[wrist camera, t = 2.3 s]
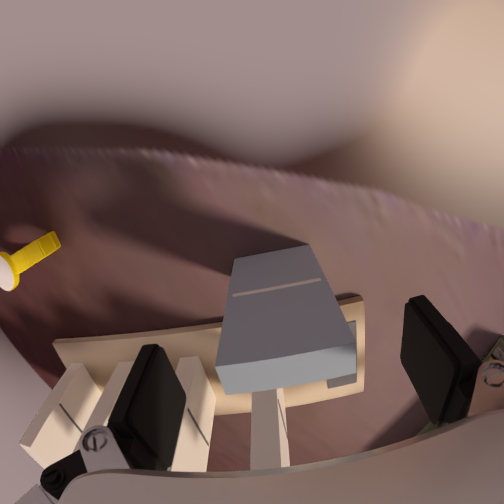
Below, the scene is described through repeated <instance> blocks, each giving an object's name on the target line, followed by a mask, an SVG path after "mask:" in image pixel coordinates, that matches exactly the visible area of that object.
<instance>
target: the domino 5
mask: <svg viewBox="0 0 504 504" xmlns="http://www.w3.org/2000/svg"><path fill="white" fill-rule="evenodd" d="M289 466H290V462H289V450H288V436H287V426H286V415H285V404H284V393H283V388H278V389H272V390H265V391H257V392H252V413H251V458H250V470H261V469H272V468H281V467H289Z"/></svg>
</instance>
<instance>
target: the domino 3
mask: <svg viewBox="0 0 504 504" xmlns="http://www.w3.org/2000/svg"><path fill="white" fill-rule="evenodd" d="M175 373H176V375H177V377H178V379H179V381H180V383H181V385H182V387H183V389H184V391H185V393H186V404H185V409H184V413H183V417H182V422H181V426H180V430H179V435H178V439H177V444H176V448H175V453H174V458H173V462H172V466H171V467H168V469H167V471H179V472H206V468H207V461H208V453H209V446H210V439H211V432H212V425H213V417H214V410H215V403H216V397H215V395H214V392H213V390H212V388H211V385H210V383H209V381H208V378H207V376H206V373H205V371H204V368H203V366H202V363H201V361H200V358H199V356H193V357H183V358H180V359H179V362H178V366H177V369H176V372H175Z"/></svg>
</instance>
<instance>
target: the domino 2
mask: <svg viewBox="0 0 504 504" xmlns="http://www.w3.org/2000/svg"><path fill="white" fill-rule="evenodd" d="M133 364H134V361H129V362H119V363H118V365H117V367H116V368H115V370H114V372H113V374H112V376H111V378H110V379H109V381H108V383H107V385H106V387H105V389H104V391H103V393H102V394H101V396H100V398H99V400H98V402H97V404H96V406H95V408H94V410H93V412H92V414H91V416H90V418H89V420H88V422H87V424H86V426H85V428H84V430H83V432H82V434H83V433H84V432H85V431H86V430H87V429H89V428H90V427H93V426H96V425H102V426H107V424H108V419H109V417H110V415H111V412H112V410H113V408H114V406H115V403H116V401H117V399H118V397H119V394H120V392H121V390H122V388H123V386H124V383H125V381H126V379H127V377H128V375H129V372H130V370H131V368H132V366H133ZM82 434H81V435H82ZM80 437H81V436H80ZM79 439H80V438H79ZM77 450H79V440H78V442H77V444H76V446H75V448H74V450H73V452H72V453H74V452H75V451H77Z"/></svg>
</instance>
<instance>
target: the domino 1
mask: <svg viewBox="0 0 504 504" xmlns="http://www.w3.org/2000/svg"><path fill="white" fill-rule="evenodd" d="M101 394H102V393H101V392H100V390H99V389H98V387H97V386H96V384H95V382H94V381H93V379H92V378H91V376H90V374H89V373H88V371H87V369H86V368H85V366H84V364H83V363H71V364H70V365H69V367H68V368H67V370H66V371H65V373H64V374H63V375H62V377H61V378H60V380H59V381H58V383H57V384H56V386H55V387H54V389H53V390H52V392H51V393H50V395H49V396H48V398H47V399H46V401H45V402H44V404H43V405H42V407H41V408H40V410H39V411H38V413H37V415H36V416H35V418H34V419H33V421H32V423H31V424H30V426H29V427H28V429H27V431H26V432H25V434H24V436H23V438H22V439H21V441H20V442H19V444H20V445H21V446H22V447H23V448H24V449H25V451H26V452H27V453H28V454H29V455H30V456H31V457H32V458H33V459H34V460H35V461H36V462H38V464H39V465H41V466H42V467H43V468H44V469H45V468H47V467H48V466H49V465H51V464H53V463H55V462H57V461H59V460H61V459H63V458H64V457H66V456H68V455H70V454H72V452H73V450H74V448H75V446H76V444H77V442H78V440H79V438H80V436H81V434H82V432H83V430H84V428H85V426H86V424H87V422H88V420H89V418H90V416H91V414H92V412H93V410H94V408H95V406H96V404H97V402H98V400H99V398H100V396H101Z"/></svg>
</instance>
